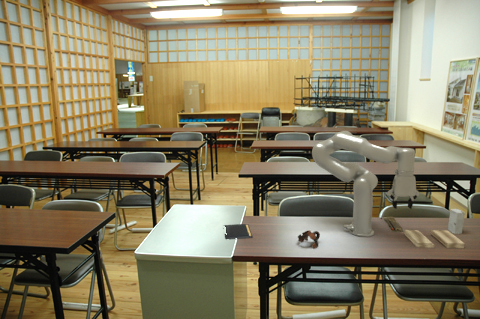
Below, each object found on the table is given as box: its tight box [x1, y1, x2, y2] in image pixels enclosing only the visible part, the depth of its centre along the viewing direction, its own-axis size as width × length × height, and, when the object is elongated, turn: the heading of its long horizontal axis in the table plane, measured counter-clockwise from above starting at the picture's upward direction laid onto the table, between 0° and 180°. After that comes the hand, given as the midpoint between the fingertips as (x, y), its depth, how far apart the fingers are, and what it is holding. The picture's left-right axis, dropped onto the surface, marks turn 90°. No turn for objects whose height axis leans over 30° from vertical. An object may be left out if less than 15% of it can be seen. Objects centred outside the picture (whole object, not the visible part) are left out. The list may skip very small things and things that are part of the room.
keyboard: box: [380, 216, 405, 233], centre depth 202 cm, size 22×9×2 cm, turn 170°
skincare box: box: [447, 208, 466, 235], centre depth 189 cm, size 6×4×12 cm
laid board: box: [429, 229, 466, 249], centre depth 179 cm, size 9×16×2 cm, turn 176°
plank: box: [404, 229, 435, 249], centre depth 180 cm, size 8×16×2 cm, turn 177°
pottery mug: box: [297, 230, 321, 250], centre depth 178 cm, size 12×10×8 cm
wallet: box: [223, 223, 254, 240], centre depth 195 cm, size 20×2×15 cm
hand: (402, 207), depth 177 cm, fingers open, 6 cm apart
